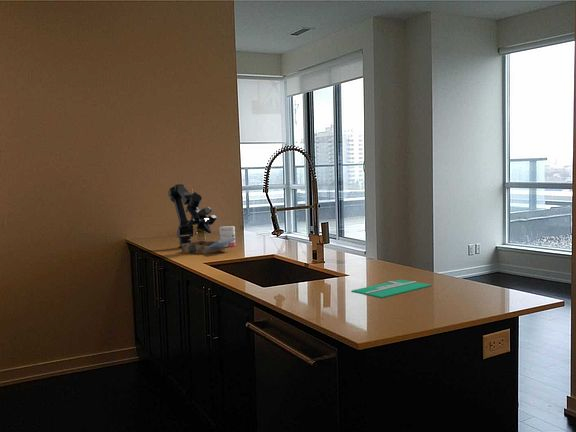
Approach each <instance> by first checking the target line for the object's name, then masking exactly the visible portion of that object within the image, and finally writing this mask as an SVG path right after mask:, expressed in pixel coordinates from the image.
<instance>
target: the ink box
mask: <svg viewBox="0 0 576 432" xmlns="http://www.w3.org/2000/svg"><path fill="white" fill-rule="evenodd" d="M235 227H236V226H232V225H231V226H229V225H228V226H224V225H223V226H219V228H218V231H219V232H218V233H219V240H224V239H229V238H235V240H234V241H232V242H230V243H229V244H227V245H225V246H224V248H230V247H231V248H232V247H235V246H236V228H235Z"/></svg>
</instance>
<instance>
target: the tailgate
mask: <svg viewBox="0 0 576 432" xmlns="http://www.w3.org/2000/svg"><path fill="white" fill-rule="evenodd" d="M234 240H235V241H236V237H235V238H229V239H224V240H220V239H219V240H217V241H216V242H215V243H213V244H211V245H210V246H208V247H206V250H208V249H213V248H218V247H223V246H225V245H227V244H229V243H230V242H232V241H234Z"/></svg>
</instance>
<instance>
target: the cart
mask: <svg viewBox="0 0 576 432" xmlns="http://www.w3.org/2000/svg"><path fill="white" fill-rule="evenodd" d="M215 242H217V241H214V240H213V241H212V240H196V241H191V242H190V243H185V244H181V248H180V250H181V253H189V254H199V255H200V254H202V255H206V254H212V253H215V252H220V251H221V252H222V251H225V247H224V246H223V247H218V248H213V249H208V250H206V247H208V246H210V245H211V244H213V243H215Z"/></svg>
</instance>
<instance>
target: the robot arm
mask: <svg viewBox="0 0 576 432" xmlns="http://www.w3.org/2000/svg"><path fill="white" fill-rule="evenodd" d="M167 195H168V197H169V199H170V201H171V202H172V203H174V204H173V205H174V207H175V210H176V215H177V218H178V219H177V220H178V222H179V224H178V227H177V231H176V238H179V246H177V248H179V249H181V244H185V243H190V242H192V239H191V238H192V237H194V230H195V229H194V226H195V225H196V226H197V227H196V228H197V229H198V230H201V231H203V232H206V233H208V234H212V230H211V227H210V226H212V225H214V223H215V221H216V220H217V218H218V217H217V216H216V214H212V215H209V214H211V212H212V211H213V210H212V208H211V207H210V206H207V207H203V208H202V209H200V208H199V206H200V204H201V202H202V195H200V194H198V192H197V191H196V192H195V191H194V192H190V191H189V190H188V188H186V187H185V185H184V184H182V183H178V184H177V183H176V184H174V185H173V186H171V187H170V188H169V190H168V191H167ZM184 205H186V207H185V208H186V209H185V208H184ZM186 213H189V214H190V216H191V217H190V219H189V220H188V218H187V215H186Z"/></svg>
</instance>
